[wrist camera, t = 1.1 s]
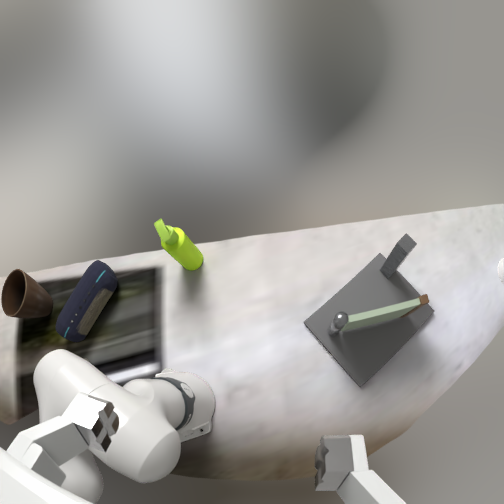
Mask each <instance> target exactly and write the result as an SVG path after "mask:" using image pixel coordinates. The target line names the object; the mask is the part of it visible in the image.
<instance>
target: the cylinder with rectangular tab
mask: <svg viewBox="0 0 504 504" xmlns="http://www.w3.org/2000/svg"><path fill="white" fill-rule="evenodd" d="M498 275H499V278H500V280H501V282H502V283H503V284H504V257H503V258H502V259H501V260H500V262H499V264H498Z"/></svg>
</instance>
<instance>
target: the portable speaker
mask: <svg viewBox="0 0 504 504" xmlns="http://www.w3.org/2000/svg"><path fill="white" fill-rule="evenodd" d="M117 281H118V280H117V278H116V276H115V273H114V272H113V270H112V269H111V268H110V267H109V266H108V265H107V264H105V263H103V262H101V261H99V260H97V261H95V262H93V263H92V264H91V265H90V266H89V267H88V268H87V270H86V272H85V273H84V275H83V276H82V278H81V279H80V281H79V283H78V284H77V286H76V288H75V289H74V291H73V292H72V294H71V296H70V297H69V299H68V301H67V303H66V304H65V306H64V308H63V309H62V311H61V313H60V315H59V316H58V319H57V323H56V331H57V332H58V333H59V334H60V335H61V336H62V337H64V338H66V339H67V340H70V341H73V342H80V341H82V340H84V339H85V337H86V336H87V334H88V332H89V331H90V329H91V327H92V326H93V324H94V322H95V321H96V319H97V318H98V316H99V314H100V313H101V311H102V309H103V308H104V306H105V305H106V303H107V302H108V300H109V298H110V297H111V295H112V294H113V292H114V291H115V289H116V287H117Z"/></svg>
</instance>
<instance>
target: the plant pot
mask: <svg viewBox="0 0 504 504" xmlns="http://www.w3.org/2000/svg"><path fill="white" fill-rule="evenodd" d="M2 308H3V311H4V312H5V314H6V315H7V316H10V317H17V318H39V317H45V316H48V315H49V314H50V313H51V311H52V308H53V300H52V298H51V296H50V295H49V294H48V293H47V292H46V291H45V290H44V289H43V288H42V287H41V286H40V285H39V284H38V283H37V282H36V281H35V280H34V279H33V278H31V277H30V276H29V275H27V274H26V273H25V272H23V271H22V270H20V269H16V270H14V271H12V272H11V273H10V274H9V276H8V277H7V279H6V281H5V283H4V286H3V290H2Z"/></svg>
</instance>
